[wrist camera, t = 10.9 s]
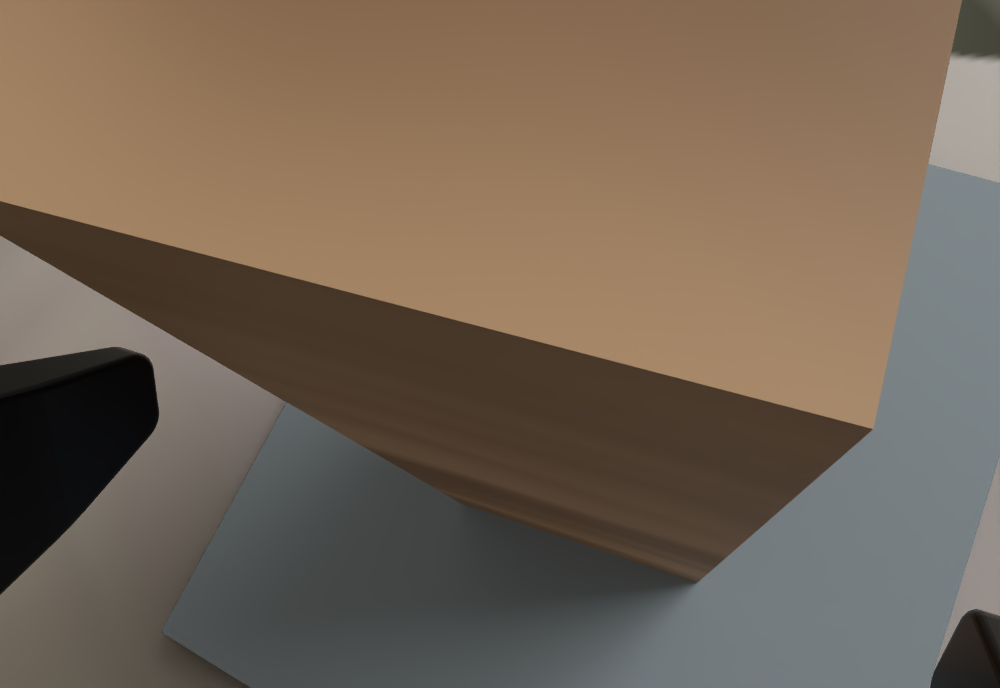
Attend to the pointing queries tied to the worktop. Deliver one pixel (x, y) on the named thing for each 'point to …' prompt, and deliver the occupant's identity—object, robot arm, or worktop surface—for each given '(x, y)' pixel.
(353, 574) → the slate mat
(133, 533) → the worktop surface
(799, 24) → the walnut brick
